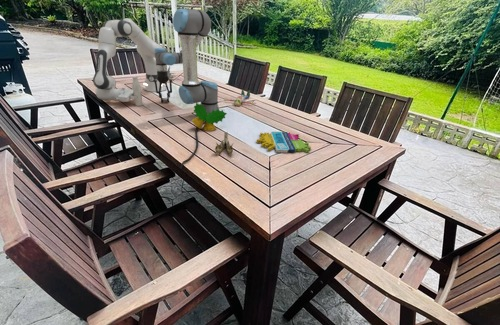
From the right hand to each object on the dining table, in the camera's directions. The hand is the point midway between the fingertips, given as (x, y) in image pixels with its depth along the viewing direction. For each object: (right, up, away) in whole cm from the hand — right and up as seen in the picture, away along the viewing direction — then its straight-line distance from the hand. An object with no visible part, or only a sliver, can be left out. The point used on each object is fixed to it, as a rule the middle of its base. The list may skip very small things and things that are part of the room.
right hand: (165, 101), depth 205 cm
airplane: (-24, +40, +69) cm, 83 cm away
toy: (+60, +4, +16) cm, 62 cm away
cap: (0, +2, -1) cm, 2 cm away
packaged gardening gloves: (+85, -36, -52) cm, 106 cm away
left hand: (-16, +2, -10) cm, 19 cm away
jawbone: (+53, -42, -66) cm, 95 cm away
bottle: (-17, -4, -7) cm, 19 cm away
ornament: (+41, -26, -40) cm, 63 cm away
